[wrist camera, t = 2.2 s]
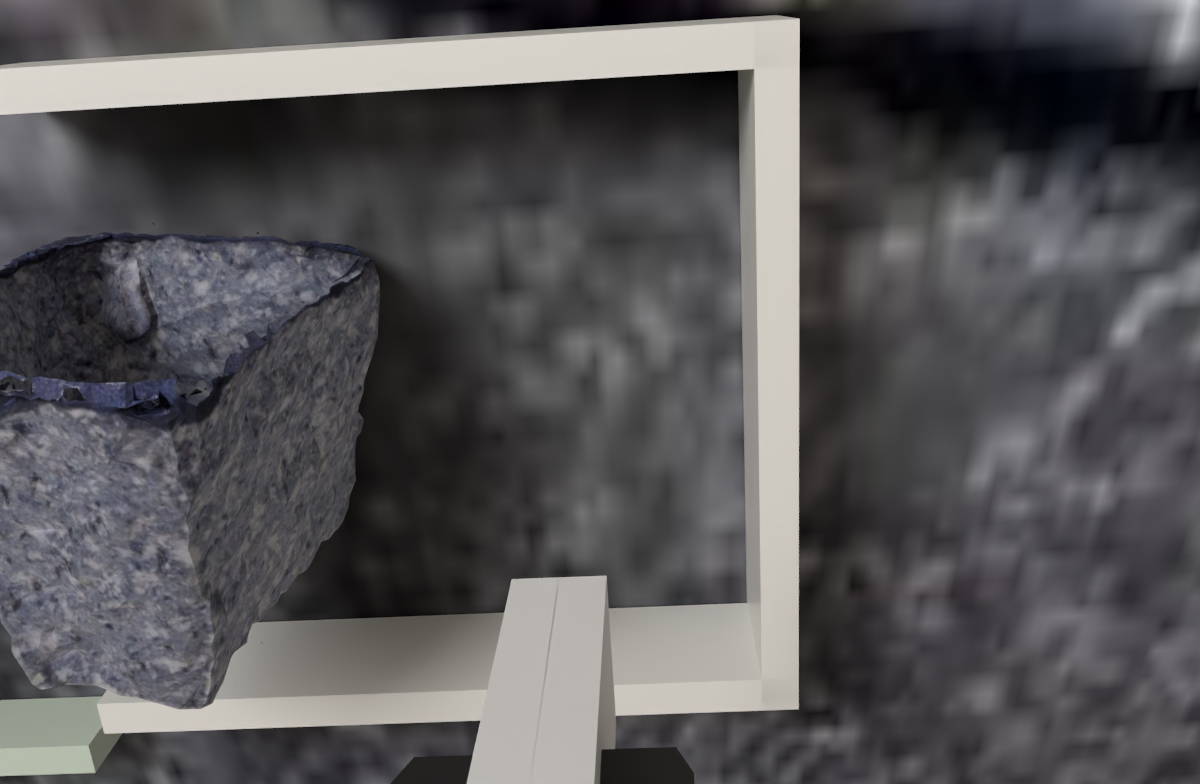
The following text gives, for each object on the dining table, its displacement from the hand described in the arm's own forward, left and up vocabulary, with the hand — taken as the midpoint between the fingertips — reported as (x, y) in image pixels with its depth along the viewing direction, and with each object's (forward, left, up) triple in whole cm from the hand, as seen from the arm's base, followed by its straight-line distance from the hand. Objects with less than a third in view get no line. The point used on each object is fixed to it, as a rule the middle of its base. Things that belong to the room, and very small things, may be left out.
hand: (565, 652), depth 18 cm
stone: (-10, 0, -15) cm, 18 cm away
